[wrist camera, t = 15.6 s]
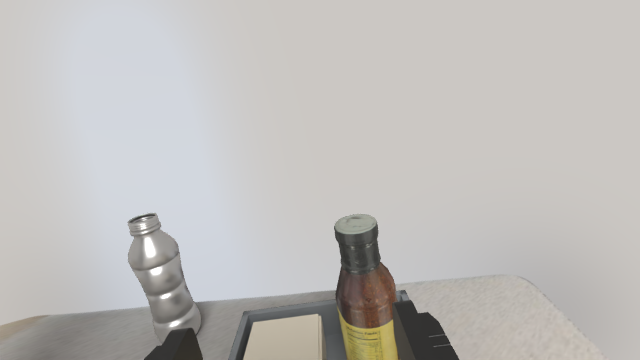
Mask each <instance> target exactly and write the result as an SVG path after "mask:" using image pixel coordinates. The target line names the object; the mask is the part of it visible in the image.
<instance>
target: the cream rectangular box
mask: <svg viewBox="0 0 640 360" xmlns="http://www.w3.org/2000/svg"><path fill="white" fill-rule="evenodd" d="M243 360H327V358H326V340H325V335H324V329H323V324H322V318H321V316H318V314H312V315H305V316H297V317H290V318H282V319H275V320H267V321H259V322H253V325H252V329H251V333H250V336H249V340H248V344H247V347H246V351H245V355H244V358H243Z"/></svg>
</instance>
